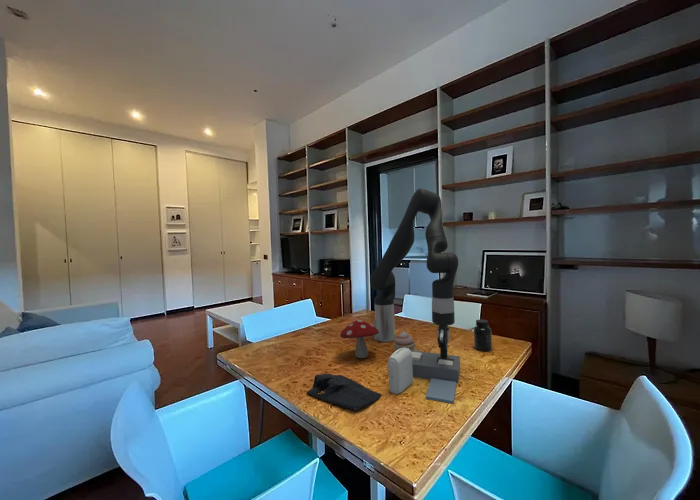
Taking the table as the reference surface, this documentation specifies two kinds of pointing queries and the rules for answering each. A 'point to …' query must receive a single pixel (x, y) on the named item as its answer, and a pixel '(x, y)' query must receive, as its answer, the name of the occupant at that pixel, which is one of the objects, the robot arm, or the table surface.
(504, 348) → the table surface
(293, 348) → the table surface
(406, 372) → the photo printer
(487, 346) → the supplement bottle
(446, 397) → the pad
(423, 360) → the switch box
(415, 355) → the left switch
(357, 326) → the decorative mushroom
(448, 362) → the right switch
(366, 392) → the folded black shirt
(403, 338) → the cupcake
